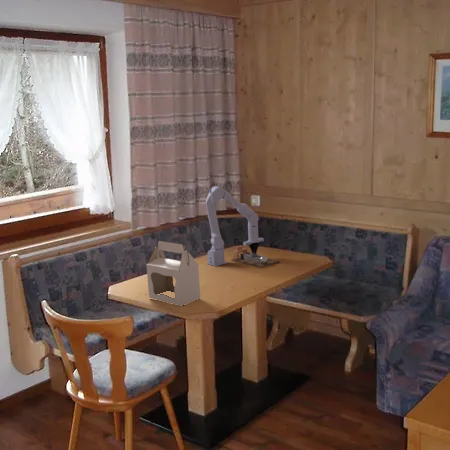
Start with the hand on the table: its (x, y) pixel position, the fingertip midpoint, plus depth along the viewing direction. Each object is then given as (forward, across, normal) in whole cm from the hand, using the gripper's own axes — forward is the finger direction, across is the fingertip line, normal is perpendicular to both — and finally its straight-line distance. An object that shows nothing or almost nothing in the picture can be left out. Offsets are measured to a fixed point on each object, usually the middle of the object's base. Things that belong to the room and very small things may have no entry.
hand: (254, 255), depth 376 cm
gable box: (+2, -74, -23) cm, 78 cm away
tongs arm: (+1, -2, -3) cm, 4 cm away
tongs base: (+1, -4, -5) cm, 7 cm away
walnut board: (+2, -2, -3) cm, 5 cm away
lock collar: (+1, -4, +7) cm, 8 cm away
